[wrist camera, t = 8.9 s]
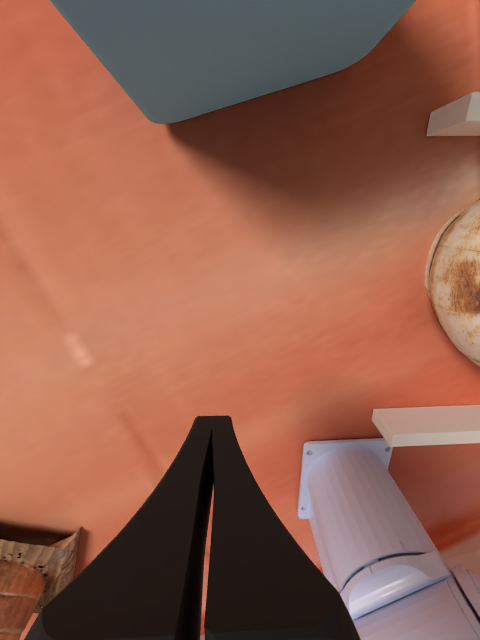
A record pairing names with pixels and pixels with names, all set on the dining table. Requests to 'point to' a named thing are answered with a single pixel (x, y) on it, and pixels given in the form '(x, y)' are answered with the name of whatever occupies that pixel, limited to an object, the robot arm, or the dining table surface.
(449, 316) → the trinket box
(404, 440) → the display bay
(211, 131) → the dining table surface
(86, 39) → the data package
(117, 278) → the dining table surface
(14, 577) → the bird sculpture
